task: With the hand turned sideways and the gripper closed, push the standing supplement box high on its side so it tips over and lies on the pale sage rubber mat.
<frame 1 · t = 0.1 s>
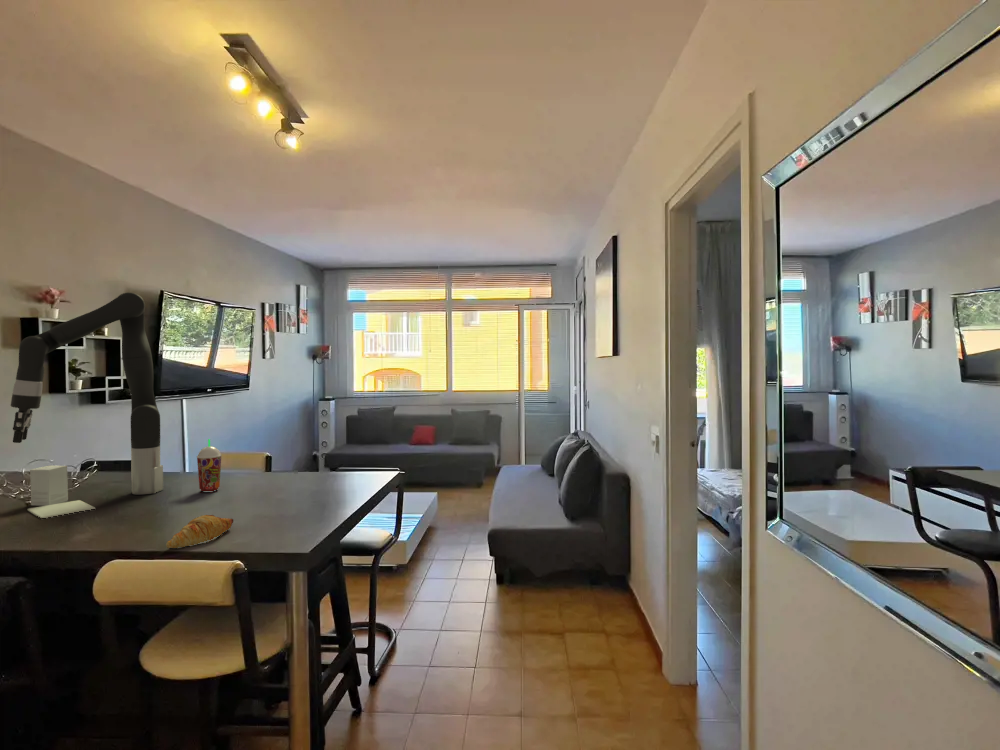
hand: (19, 441, 182), 22 cm above the table, tool pointing down, fingers open, 8 cm apart
supplement box: (49, 503, 187), on the table
smoothie: (209, 491, 205), on the table
topple mat: (61, 509, 179), on the table
croissant: (200, 540, 151), on the table
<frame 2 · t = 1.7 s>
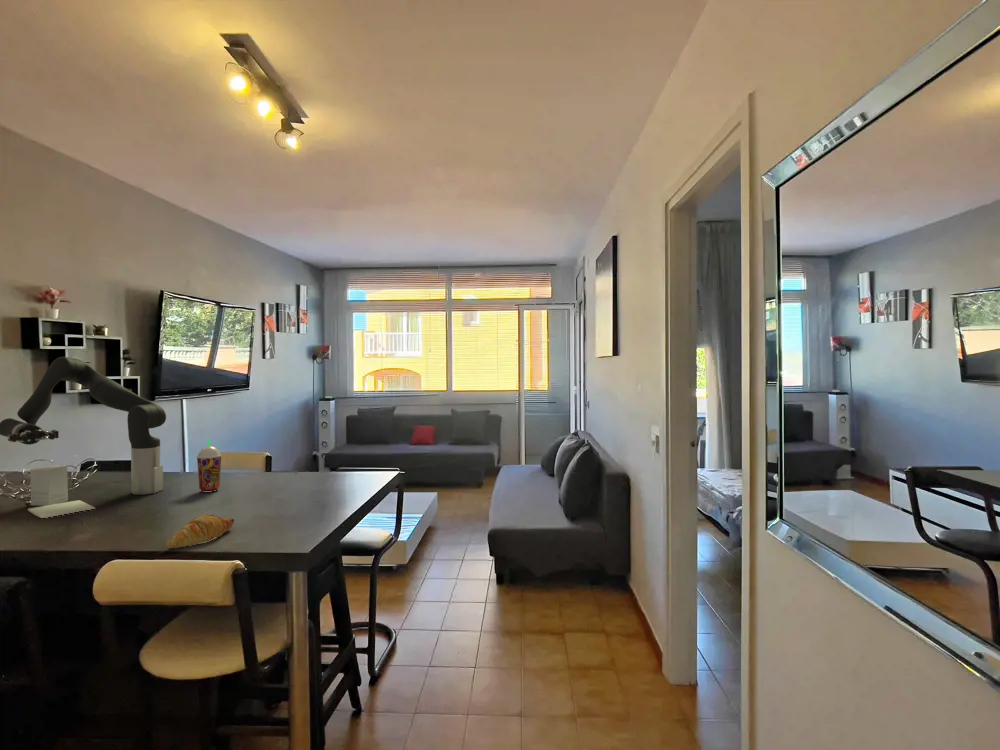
hand: (40, 437, 192), 22 cm above the table, tool horizontal, fingers open, 7 cm apart
nothing on the table moved.
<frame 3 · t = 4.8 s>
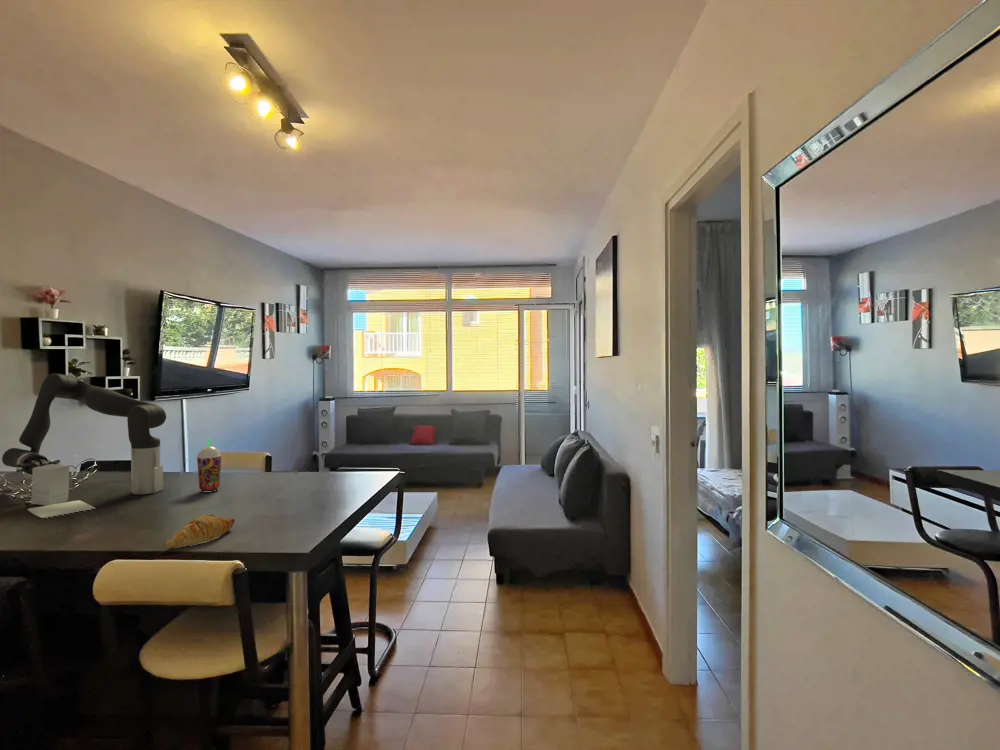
hand: (45, 468, 189), 12 cm above the table, tool horizontal, fingers closed
supplement box: (49, 502, 187), on the table, touching gripper
everything else where it was.
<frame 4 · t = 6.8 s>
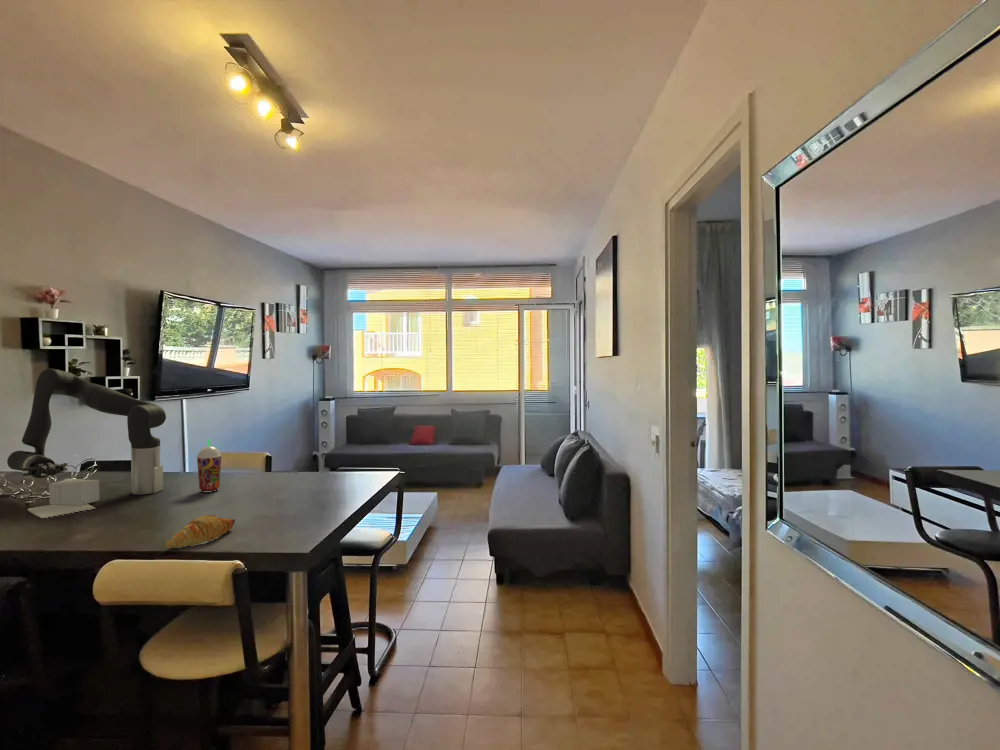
hand: (53, 472, 183), 12 cm above the table, tool horizontal, fingers closed
supplement box: (58, 491, 187), point 4 cm above the table, touching topple mat
everything else where it was.
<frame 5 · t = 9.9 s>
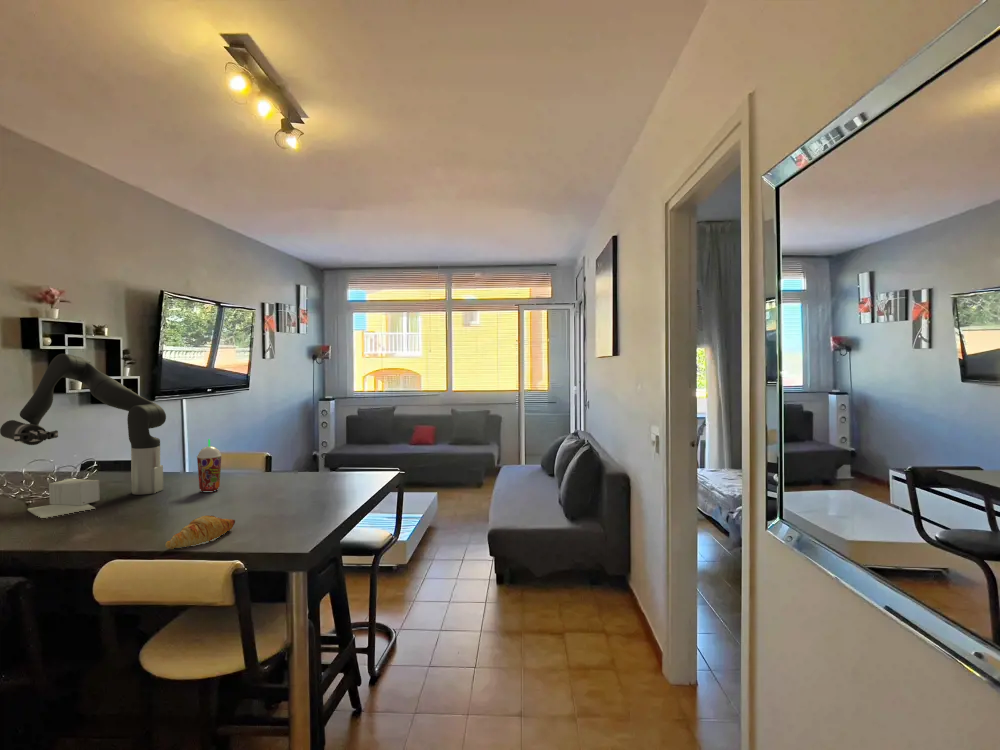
hand: (43, 437, 190), 23 cm above the table, tool horizontal, fingers closed
nothing on the table moved.
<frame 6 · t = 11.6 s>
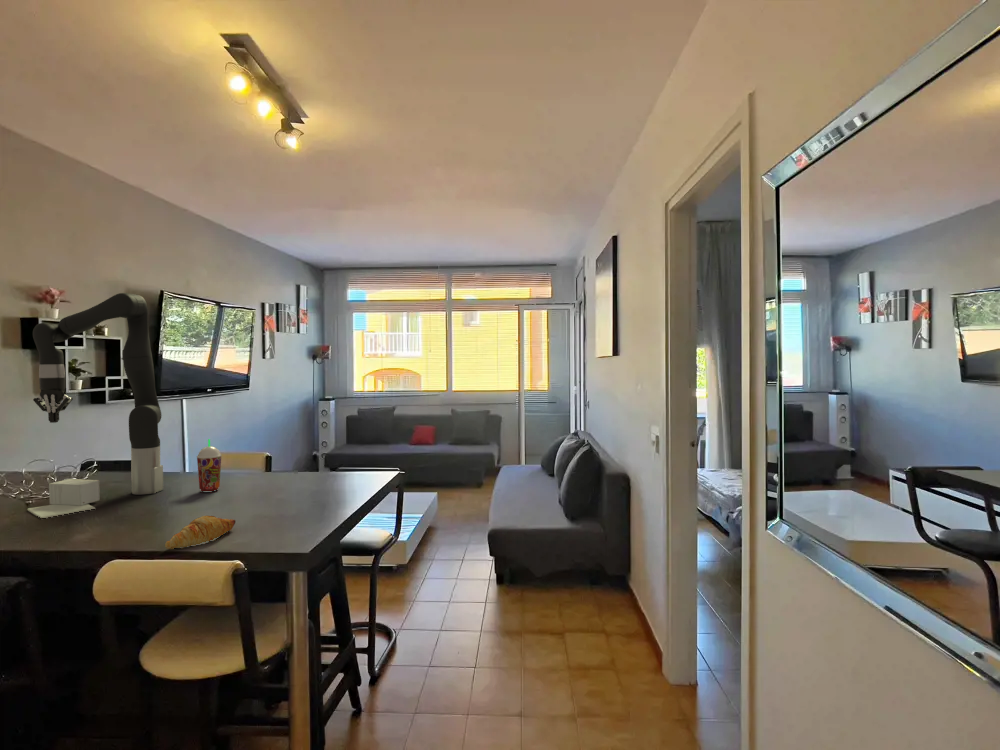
hand: (54, 422, 202), 26 cm above the table, tool pointing down, fingers closed
nothing on the table moved.
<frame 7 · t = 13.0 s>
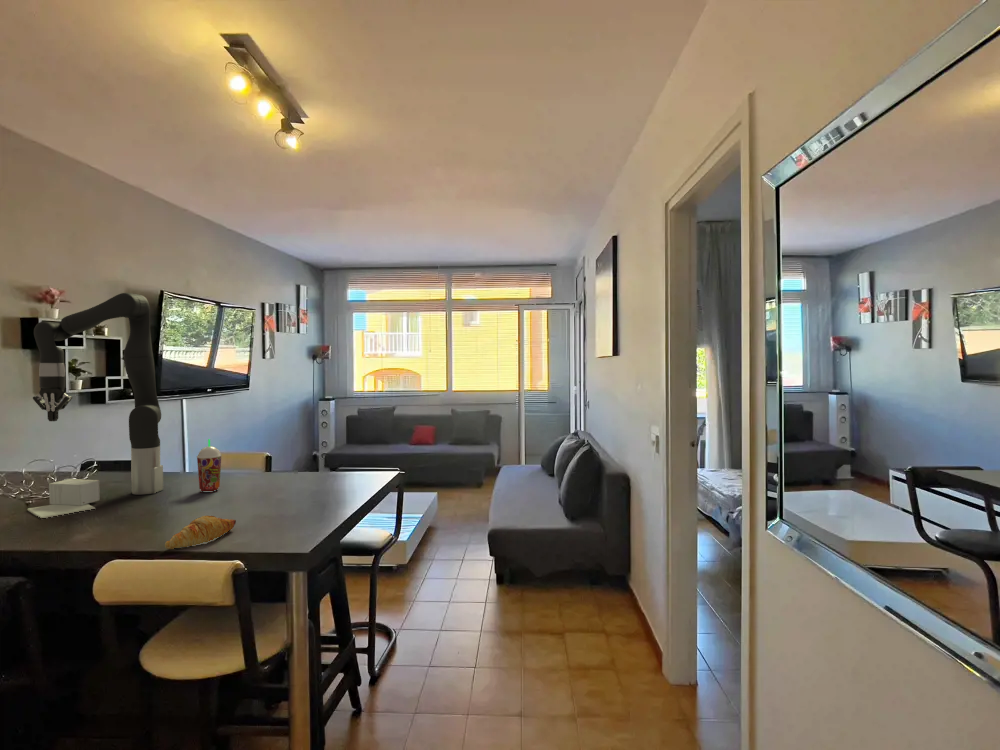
hand: (53, 421, 201), 27 cm above the table, tool pointing down, fingers closed
nothing on the table moved.
at the end: supplement box tilted 90°; supplement box touching topple mat; supplement box 11.3 cm from the topple mat (horizontally) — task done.
